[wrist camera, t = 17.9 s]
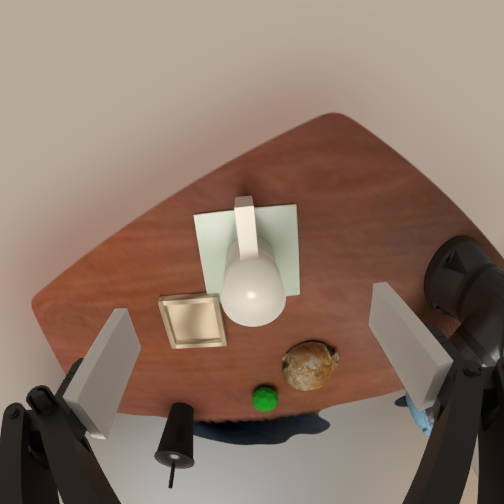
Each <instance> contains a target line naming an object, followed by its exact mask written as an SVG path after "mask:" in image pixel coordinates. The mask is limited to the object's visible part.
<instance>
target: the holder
mask: <svg viewBox="0 0 504 504" xmlns="http://www.w3.org/2000/svg"><path fill="white" fill-rule="evenodd" d="M209 302H213V304H209ZM158 304H159V308H160V311H161V315H162V318H163V321H164V325H165V328H166V331H167V334H168V338H169V341H170V344H171V347H172V349H174V348H198V347H215V346H227V336H226V331H225V325H224V320H223V314H222V308H221V303H220V300H219V294H218V293H217V294H207V292H206V293H195V294H182V295H169V296H160V298H159V300H158Z"/></svg>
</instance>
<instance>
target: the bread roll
mask: <svg viewBox="0 0 504 504" xmlns="http://www.w3.org/2000/svg"><path fill="white" fill-rule="evenodd" d="M282 360H284V362H283V368H282V372H283V377H284V379H285V381H286V383H287V384H288V385H290V386H291V387H293V388H295V389H298V390H302V391H306V390H314V389H318V388H320V387H322V386H324V385H325V384H327V383H328V382H329V381H330V380H331V379H332V377H333V376H334V374H335V373H336V372H337V371H338V365H339V363H338V362H337V361H338V360H339V356H338V353H337V352H335V353H333V352H332V348H330V347H327V346H326V345H325V344H322V343H317V342H307V343H302V344H300V345H298V346H296V347H294V348H292V349H291V350H290V351H289V352H288V353H285V354H284V356H283V357H282Z"/></svg>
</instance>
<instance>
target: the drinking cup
mask: <svg viewBox="0 0 504 504" xmlns="http://www.w3.org/2000/svg"><path fill="white" fill-rule="evenodd" d="M154 457H155V459H156V460H157V461H158V462H160V463H161V464H163V465H166V466H168V467H171V473H170V480H169V488H172V486H173V479H174V471H175V468H177V469H185V468H190V467H192V466H193V465H194V459H193V408H192V407H191V406H189V405H187V404H185V403H175V404H173V405H172V407H171V410H170V413H169V416H168V419H167V422H166V425H165V428H164V432H163V435H162V437H161V441H160V444H159V447H158V450H157V452H155V455H154Z"/></svg>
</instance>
